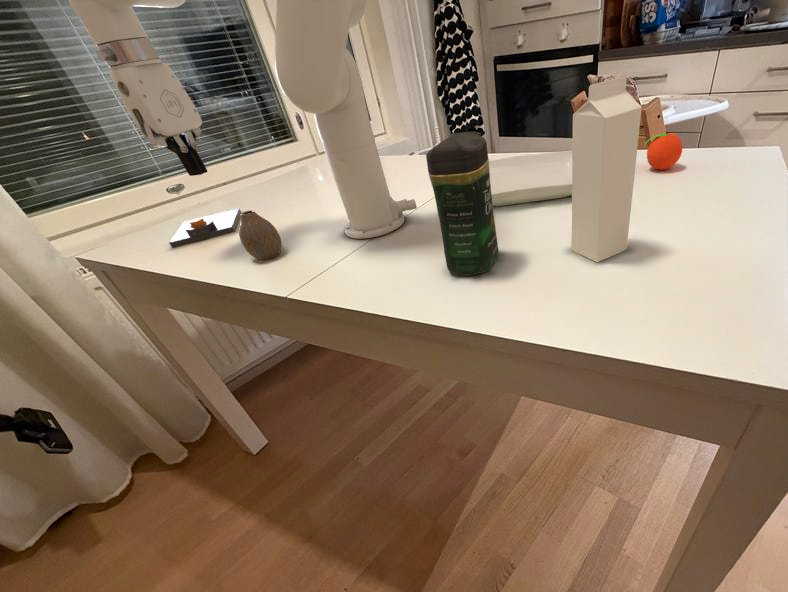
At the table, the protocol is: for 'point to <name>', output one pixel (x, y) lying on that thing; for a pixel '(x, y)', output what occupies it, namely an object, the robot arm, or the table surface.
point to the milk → (604, 169)
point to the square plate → (531, 178)
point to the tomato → (664, 151)
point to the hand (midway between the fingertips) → (198, 173)
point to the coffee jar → (464, 202)
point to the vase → (259, 236)
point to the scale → (207, 228)
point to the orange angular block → (197, 222)
